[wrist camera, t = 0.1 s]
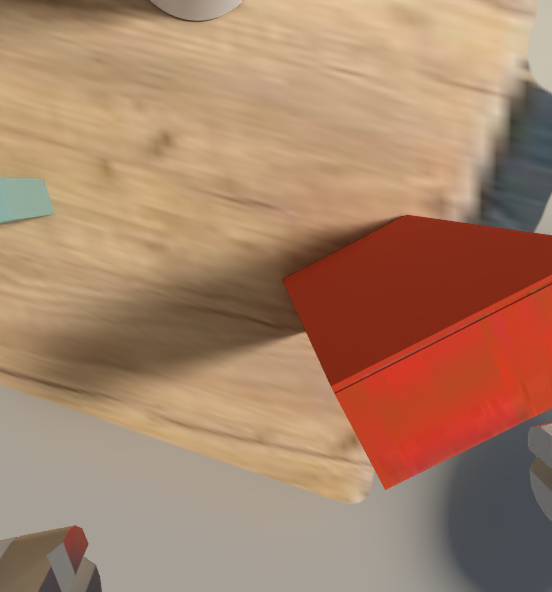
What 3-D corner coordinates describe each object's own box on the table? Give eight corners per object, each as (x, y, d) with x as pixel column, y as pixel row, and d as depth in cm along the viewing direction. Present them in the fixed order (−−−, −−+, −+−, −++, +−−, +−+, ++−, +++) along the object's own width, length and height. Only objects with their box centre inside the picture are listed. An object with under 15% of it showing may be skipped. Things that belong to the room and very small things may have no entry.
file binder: (280, 276, 56) (331, 387, 25) (404, 212, 55) (615, 244, 24) (309, 330, 58) (388, 495, 27) (429, 269, 57) (652, 365, 26)
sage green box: (-9, 188, 51) (-67, 189, 41) (43, 179, 51) (-2, 177, 41) (3, 223, 52) (-52, 232, 42) (54, 214, 52) (12, 219, 42)
